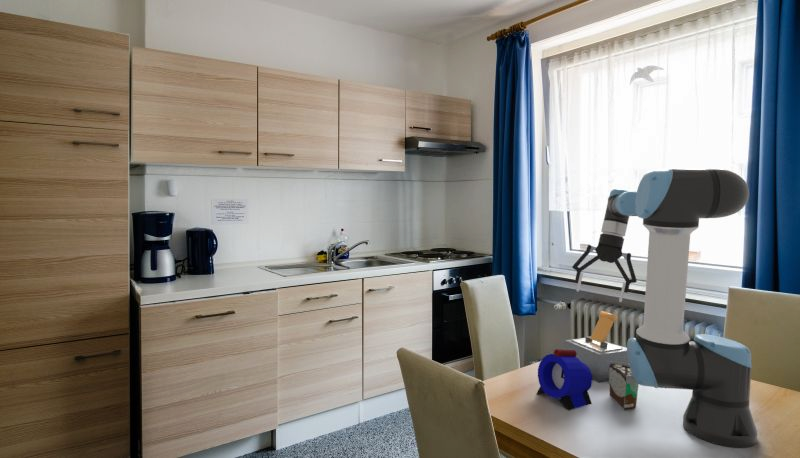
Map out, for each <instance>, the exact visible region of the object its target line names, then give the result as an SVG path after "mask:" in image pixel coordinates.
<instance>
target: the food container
mask: <svg viewBox="0 0 800 458" xmlns="http://www.w3.org/2000/svg"><path fill="white" fill-rule="evenodd" d="M608 368H609V381H608V382H609V383H608V386H609V387H608V389H609V391H608V392H609V397H610V398H611V399H612V400H613V401H614V402H615V403H616V404H617V405H618V406H619V407H620V408H621V409H622V410H623V411H631V410H633V409H636V407H637V399H638V391H639V385H640V384H638V383H637V382H636V381H635V379H634V377H633V375H632V372H631V369H630V366H629V364H626V363H621V362H613V361H609V365H608Z"/></svg>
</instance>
